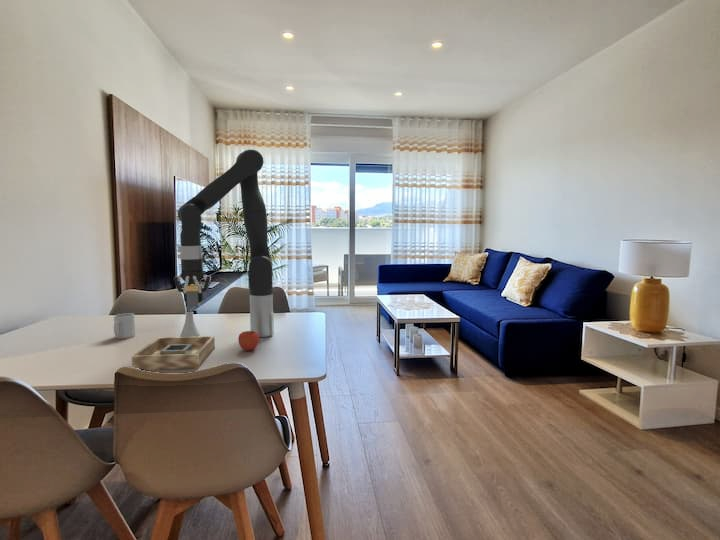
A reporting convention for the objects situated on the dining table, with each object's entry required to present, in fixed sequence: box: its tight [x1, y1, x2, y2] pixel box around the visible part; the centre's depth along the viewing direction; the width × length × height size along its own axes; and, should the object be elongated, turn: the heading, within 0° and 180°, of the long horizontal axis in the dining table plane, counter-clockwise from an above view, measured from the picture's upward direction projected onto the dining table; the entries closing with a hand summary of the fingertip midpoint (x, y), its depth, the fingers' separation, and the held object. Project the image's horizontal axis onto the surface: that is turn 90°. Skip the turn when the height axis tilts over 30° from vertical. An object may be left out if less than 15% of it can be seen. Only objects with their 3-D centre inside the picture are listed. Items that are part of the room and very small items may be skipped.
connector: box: [185, 284, 202, 308], centre depth 156 cm, size 5×5×8 cm
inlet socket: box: [160, 344, 193, 355], centre depth 141 cm, size 8×8×3 cm
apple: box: [237, 329, 260, 352], centre depth 151 cm, size 7×7×8 cm
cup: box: [113, 312, 136, 340], centre depth 166 cm, size 7×10×9 cm
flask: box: [179, 311, 201, 337], centre depth 168 cm, size 7×7×10 cm
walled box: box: [131, 335, 216, 371], centre depth 141 cm, size 20×22×4 cm
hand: (193, 302), depth 157 cm, fingers closed on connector, 4 cm apart
